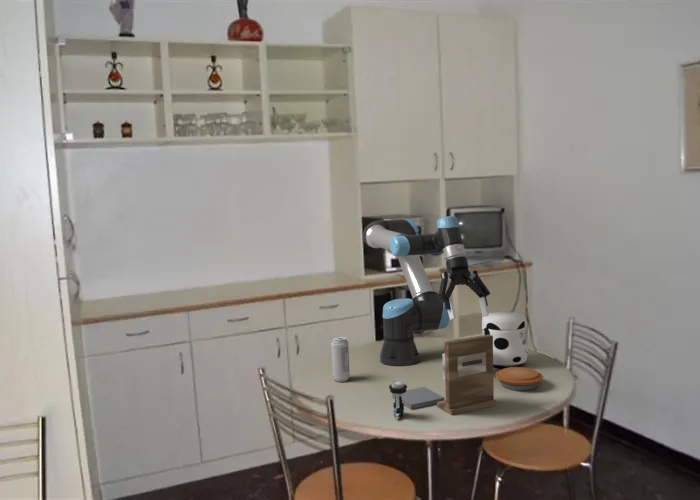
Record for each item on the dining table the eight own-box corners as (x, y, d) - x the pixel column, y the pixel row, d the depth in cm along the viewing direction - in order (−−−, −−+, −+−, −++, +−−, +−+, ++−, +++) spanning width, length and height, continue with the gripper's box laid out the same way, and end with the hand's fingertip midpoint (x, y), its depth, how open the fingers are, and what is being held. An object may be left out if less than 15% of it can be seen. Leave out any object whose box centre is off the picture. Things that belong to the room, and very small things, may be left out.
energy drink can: (339, 376, 226) (337, 335, 224) (353, 378, 222) (351, 337, 221) (329, 381, 221) (327, 339, 219) (343, 383, 218) (341, 341, 216)
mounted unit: (434, 405, 194) (432, 337, 192) (477, 395, 200) (475, 330, 198) (451, 415, 185) (450, 344, 183) (495, 405, 192) (494, 336, 189)
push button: (405, 421, 182) (404, 387, 181) (387, 420, 183) (386, 387, 182) (409, 412, 188) (408, 380, 187) (391, 411, 190) (390, 379, 189)
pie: (515, 396, 199) (515, 381, 198) (485, 382, 213) (485, 368, 213) (553, 388, 205) (553, 373, 205) (522, 375, 219) (522, 361, 219)
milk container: (537, 364, 231) (537, 316, 229) (505, 373, 222) (505, 323, 220) (502, 354, 245) (501, 309, 243) (470, 363, 236) (469, 316, 234)
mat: (392, 397, 202) (392, 393, 202) (424, 391, 207) (424, 386, 207) (411, 409, 191) (410, 404, 191) (444, 402, 196) (444, 397, 196)
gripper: (431, 256, 212) (444, 317, 206) (490, 254, 223) (505, 312, 217) (420, 263, 219) (433, 322, 212) (478, 261, 229) (492, 317, 223)
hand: (469, 317), depth 214 cm, fingers open, 13 cm apart
